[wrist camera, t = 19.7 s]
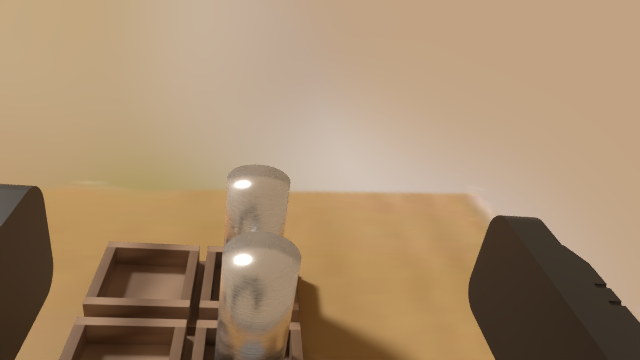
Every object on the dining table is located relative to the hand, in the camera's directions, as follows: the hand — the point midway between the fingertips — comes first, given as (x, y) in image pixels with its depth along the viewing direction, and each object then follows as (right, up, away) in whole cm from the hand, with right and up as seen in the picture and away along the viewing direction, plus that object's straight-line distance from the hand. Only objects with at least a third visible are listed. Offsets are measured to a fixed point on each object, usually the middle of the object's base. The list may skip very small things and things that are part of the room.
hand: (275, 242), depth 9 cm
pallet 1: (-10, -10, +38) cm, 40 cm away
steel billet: (-5, -14, +29) cm, 33 cm away
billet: (-6, -9, +38) cm, 39 cm away
